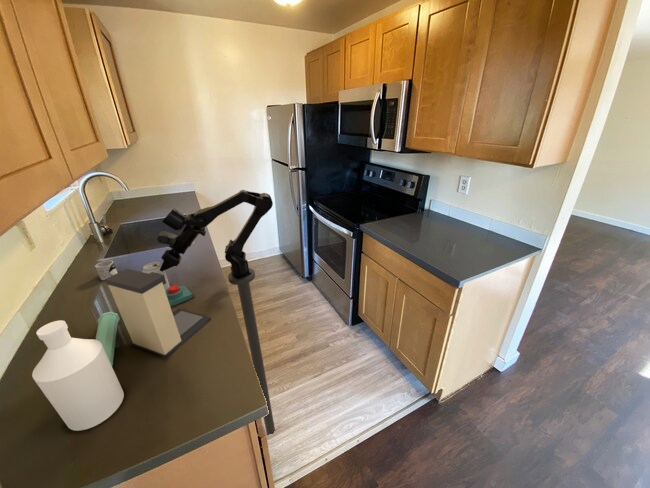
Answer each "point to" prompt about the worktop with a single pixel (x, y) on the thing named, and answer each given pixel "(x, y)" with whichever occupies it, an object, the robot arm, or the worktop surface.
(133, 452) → the worktop surface
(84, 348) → the bottle
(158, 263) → the can
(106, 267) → the mug
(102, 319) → the container
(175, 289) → the button
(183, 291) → the control block
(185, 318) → the coffee maker
